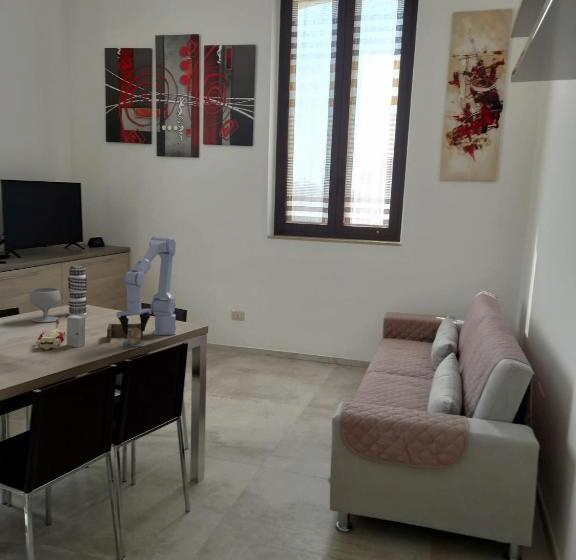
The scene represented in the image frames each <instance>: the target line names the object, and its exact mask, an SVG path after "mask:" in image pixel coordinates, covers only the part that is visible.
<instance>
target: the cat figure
mask: <svg viewBox="0 0 576 560" xmlns="http://www.w3.org/2000/svg"><path fill="white" fill-rule="evenodd" d="M55 323H56V324H55V328H54V329H53V328H52V330H50V331H49V332H48V333H47V335H46V336H44V335H45V332H47V330H45V331H43V332H42V333H40V334H39V336H38V338H37V340H36V341H35V344H36V345H39V348H41V349H44V350H50V349H53V348H56V347H58V345H61V344H62V343H63V342H64V341H65V337H64V336H65V335H66V332H65V331H64V329H59V326H60V318H59V319H56V321H55ZM63 335H64V336H63ZM57 338H59V339H57ZM56 344H57V345H56Z"/></svg>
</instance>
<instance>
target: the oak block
mask: <svg viewBox="0 0 576 560" xmlns="http://www.w3.org/2000/svg"><path fill="white" fill-rule="evenodd" d="M126 337H127V339H126V341H127V343H129V344H131V345H135V344H141V330H140V329H138V328H131V329H128V333H127V336H126Z"/></svg>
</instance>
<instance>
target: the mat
mask: <svg viewBox="0 0 576 560" xmlns="http://www.w3.org/2000/svg"><path fill="white" fill-rule="evenodd" d="M144 347H145V340H142V341H141V344H135V345H131V344H129V343H127V340H125V341H124V343H123V348H126V349H127V348H144Z"/></svg>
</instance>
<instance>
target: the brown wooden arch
mask: <svg viewBox="0 0 576 560" xmlns="http://www.w3.org/2000/svg"><path fill="white" fill-rule="evenodd" d="M131 328H138V329H140V330H141V322H140V323H139V322H138V323H128V329H131ZM143 336H144V331H141V341H143V339H144V338H143ZM114 337H118V338H119V337H127V334H125V333H124V331H123V327H122V325H121V323H109V324H108V326H107V329H106V342H107V343H111V340H112V338H114Z"/></svg>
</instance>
